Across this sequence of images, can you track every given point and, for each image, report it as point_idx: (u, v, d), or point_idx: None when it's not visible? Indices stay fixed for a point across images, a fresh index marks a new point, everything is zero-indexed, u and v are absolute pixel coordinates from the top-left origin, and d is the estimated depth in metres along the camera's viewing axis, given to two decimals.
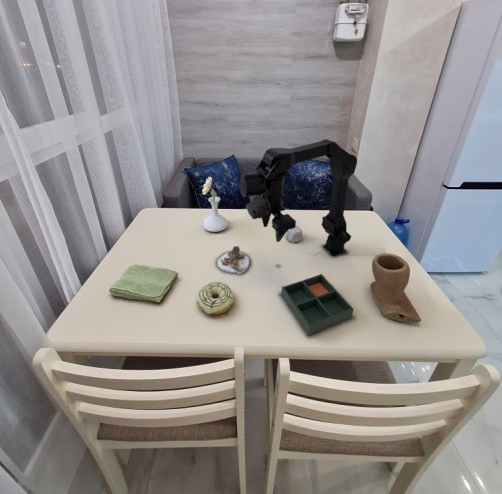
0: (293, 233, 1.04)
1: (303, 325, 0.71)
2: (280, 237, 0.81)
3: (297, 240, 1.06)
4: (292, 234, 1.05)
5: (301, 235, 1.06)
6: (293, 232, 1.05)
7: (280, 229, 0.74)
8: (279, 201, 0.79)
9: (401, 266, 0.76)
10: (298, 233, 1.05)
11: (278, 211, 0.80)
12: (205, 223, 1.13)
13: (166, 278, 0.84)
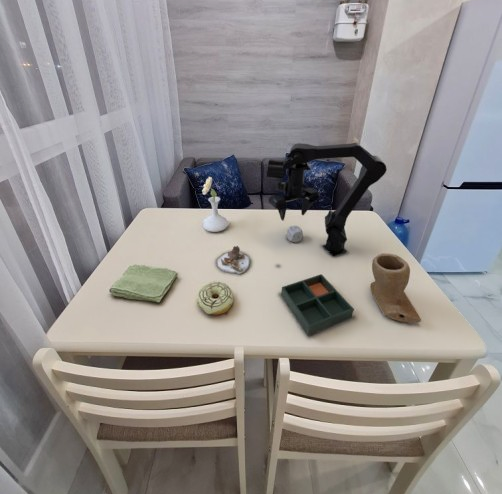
0: (293, 233, 1.04)
1: (303, 325, 0.71)
2: (281, 216, 0.97)
3: (297, 240, 1.06)
4: (292, 234, 1.05)
5: (301, 235, 1.06)
6: (293, 232, 1.05)
7: (269, 201, 0.95)
8: (289, 187, 0.93)
9: (401, 266, 0.76)
10: (298, 233, 1.05)
11: (288, 196, 0.95)
12: (205, 223, 1.13)
13: (166, 278, 0.84)
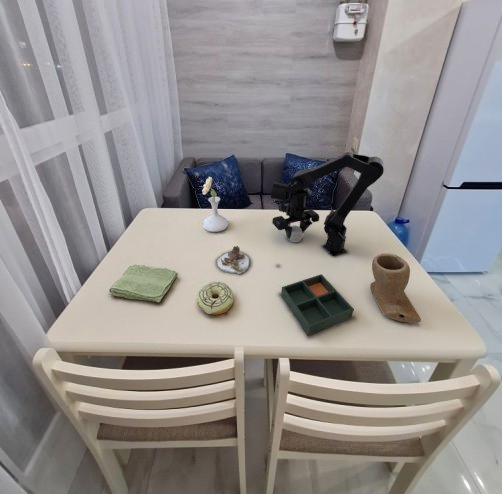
0: (293, 233, 1.04)
1: (303, 325, 0.71)
2: (287, 235, 1.06)
3: (297, 240, 1.06)
4: (292, 234, 1.05)
5: (301, 235, 1.06)
6: (293, 232, 1.05)
7: (272, 222, 1.03)
8: (291, 210, 1.01)
9: (401, 266, 0.76)
10: (298, 233, 1.05)
11: (290, 218, 1.03)
12: (205, 223, 1.13)
13: (166, 278, 0.84)
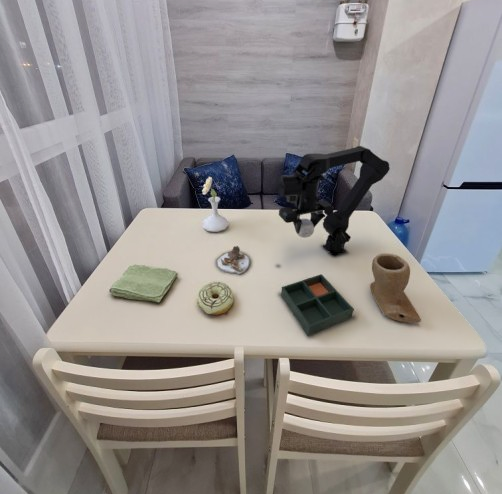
0: (303, 227, 0.91)
1: (303, 325, 0.71)
2: (296, 229, 0.92)
3: (307, 235, 0.92)
4: (302, 228, 0.91)
5: (312, 229, 0.92)
6: (303, 226, 0.91)
7: (279, 213, 0.90)
8: (301, 200, 0.87)
9: (401, 266, 0.76)
10: (308, 227, 0.91)
11: (300, 209, 0.89)
12: (205, 223, 1.13)
13: (166, 278, 0.84)
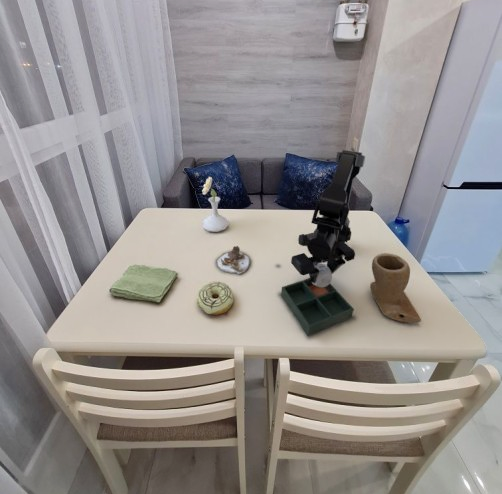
0: (320, 276, 0.76)
1: (303, 325, 0.71)
2: (311, 278, 0.78)
3: (324, 285, 0.78)
4: (318, 277, 0.76)
5: (330, 278, 0.78)
6: (320, 275, 0.76)
7: (291, 261, 0.75)
8: None
9: (401, 266, 0.76)
10: (326, 276, 0.77)
11: None
12: (205, 223, 1.13)
13: (166, 278, 0.84)
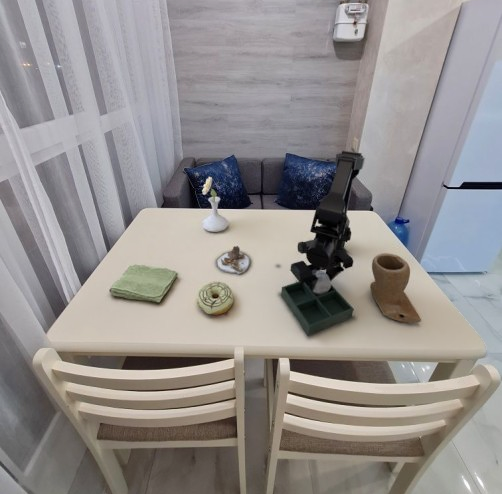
0: (318, 283, 0.77)
1: (303, 325, 0.71)
2: (310, 285, 0.79)
3: (323, 292, 0.79)
4: (317, 285, 0.77)
5: (329, 285, 0.79)
6: (318, 282, 0.78)
7: (290, 269, 0.76)
8: None
9: (401, 266, 0.76)
10: (325, 283, 0.78)
11: None
12: (205, 223, 1.13)
13: (166, 278, 0.84)
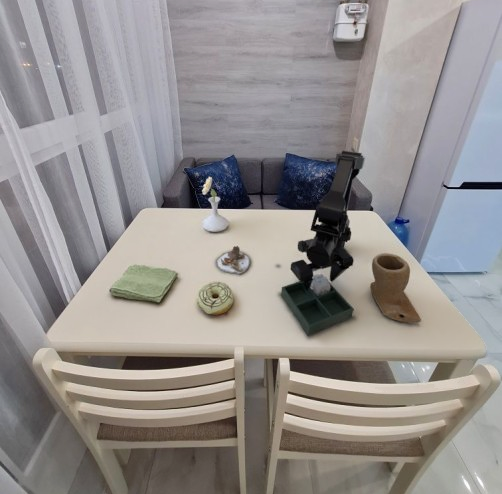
0: (318, 287, 0.78)
1: (303, 325, 0.71)
2: (305, 286, 0.78)
3: None
4: (317, 289, 0.78)
5: (328, 289, 0.79)
6: (318, 286, 0.78)
7: (291, 268, 0.76)
8: None
9: (401, 266, 0.76)
10: (325, 287, 0.78)
11: None
12: (205, 223, 1.13)
13: (166, 278, 0.84)
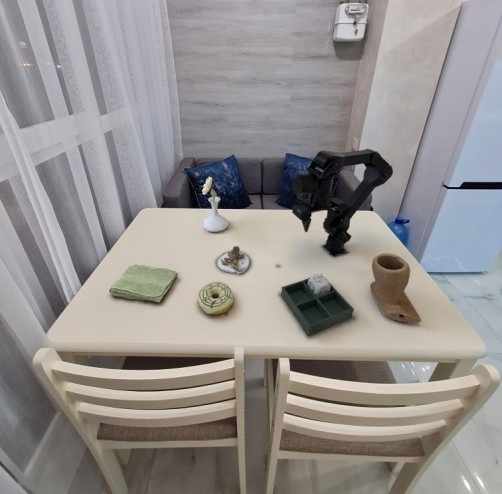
0: (318, 287, 0.78)
1: (303, 325, 0.71)
2: (305, 228, 0.91)
3: None
4: (317, 289, 0.78)
5: (328, 289, 0.79)
6: (318, 286, 0.78)
7: (292, 211, 0.89)
8: (315, 197, 0.87)
9: (401, 266, 0.76)
10: (325, 287, 0.78)
11: (314, 206, 0.88)
12: (205, 223, 1.13)
13: (166, 278, 0.84)
